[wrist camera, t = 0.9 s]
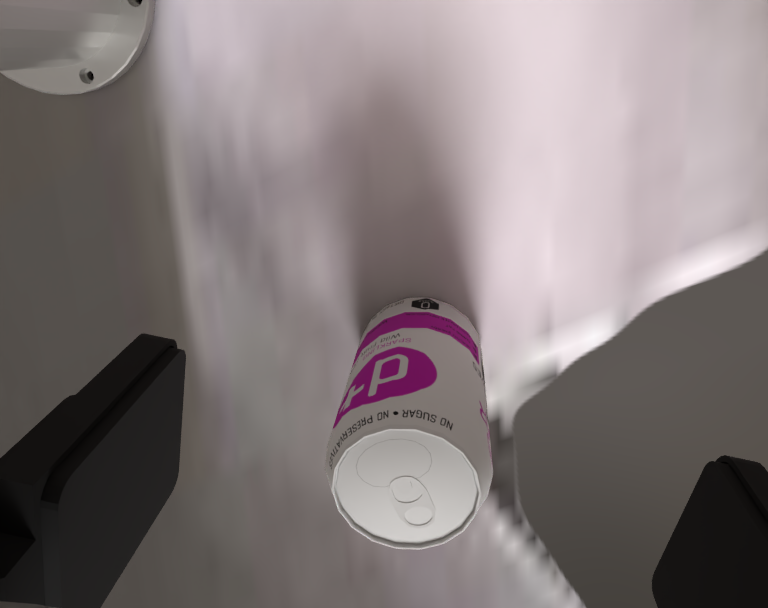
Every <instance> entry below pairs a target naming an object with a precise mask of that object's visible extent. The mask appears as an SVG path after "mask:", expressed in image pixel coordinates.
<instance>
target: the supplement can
mask: <svg viewBox="0 0 768 608" xmlns="http://www.w3.org/2000/svg"><path fill="white" fill-rule="evenodd" d="M325 471H326V475H327V478H328V481H329V484H330V487H331V491H332V493H333V495H334V498H335V502H336V505H337V508H338V511H339V512H340V513H341V514H342V516H343V517H344V518H345V519H346V521H347V522H348V523H349V525H350V526H351V527H352V528H353V529H355V530H356V531H358V532H359V533H361V534H362V535H364V536H365V537H367V538H368V539H370V540H371V541H373V542H376V543H380V544H383V545H386V546H389V547H392V548H395V549H419V550H421V549H425V548H429V547H433V546H437V545H441V544H444V543H446V542H448V541H449V540H451V539H452V538H454V537H456V536H457V535H459V534H461V533H462V532H464V530H465V529H466V528H467V526H468V525H469V524H470V522H471V521H472V520H473V518H474V517H475V516H476V514H477V510H478V509H479V507H480V506H481V505H482V504H483V502H484V501H485V500H486V498H487V497H488V493H489V488H490V484H491V480H492V476H493V467H492V456H491V445H490V435H489V424H488V413H487V402H486V391H485V381H484V370H483V359H482V351H481V346H480V340H479V335H478V333H477V331H476V330H475V328H474V327H473V325H472V324H471V322H470V320H469V319H468V317H466V316H465V315H464V314H462V313H461V312H460V311H458V310H457V309H456V308H455V307H453V306H452V305H451V304H448V303H445V302H441V301H438V300H435V299H432V298H406V299H403V300H400V301H397V302H394V303H392V304H389V305H387V306H386V307H384V308H383V309H382V310H381V311H380V312H378V313H377V314H376V315H375V316H373V317H372V319H371V320H370V322H369V324H368V326H367V327H366V329H365V331H364V333H363V335H362V338H361V341H360V344H359V347H358V350H357V353H356V357H355V360H354V363H353V366H352V369H351V373H350V376H349V379H348V382H347V385H346V388H345V392H344V395H343V398H342V401H341V404H340V407H339V411H338V414H337V417H336V420H335V423H334V426H333V430H332V433H331V436H330V439H329V442H328V446H327V454H326V464H325Z"/></svg>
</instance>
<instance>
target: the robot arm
mask: <svg viewBox="0 0 768 608" xmlns="http://www.w3.org/2000/svg"><path fill="white" fill-rule="evenodd" d="M154 9H155V0H142V3H141V4H140V2H139V0H0V73H1V74H3V75H4V76H5V77H7V78H9V79H11V80H13V81H15V82H17V83H18V84H20V85H22V86H24V87H27V88H30V89H33V90H36V91H40V92H43V93H50V94H58V95H69V94H80V93H85V92H90V91H95V90H98V89H100V88H102V87H104V86H107V85H109V84H111V83H113V82H114V81H116V80H117V79H118V78H119V77H121V76H122V75H123V74H125V73H126V72H127V71H128V70H129V69H130V67H131V66H132V65H133V64H134V62H135V61H136V60H137V59H138V57H139V56H140V54H141V52H142V50H143V48H144V46H145V44H146V42H147V40H148V37H149V34H150V30H151V26H152V23H153V19H154ZM91 73H93V76H94V79H93V78H92V77H91ZM185 363H186V354H185V351H184V350H181V349H177V344H176V341H175V340H173V339H168V338H163V337H158V336H154V335H149V334H141V335H139V336H138V337H137V338H136V339H135V340H134V341H133V342H132V343H131V344H129V345H128V346H127V347H126V348H125V349H124V350H123V351H122V352H121V353H120V354H119V355H118V356H117V357H116V358H115V359H113V360H112V361H111V362H110V363H109V364H108V365H107V366H106V367H105V368H104V369H103V370H102V371H101V372H100V373H99V374H97V375H96V376H95V377H94V378H93V379H92V380H91V381H90V382H89V383H88V384H87V385H86V386H85V387H84V388H83V389H81V390H80V391H79V392H78V393H77V394H76V395H71V396H69V397H68V398H66V399H65V400H63V401H62V402H61V403H60V404H59V405H58V406H57V407H56V408H55V409H53V410H52V411H51V412H50V413H49V414H48V415H47V416H46V417H45V418H44V419H43V420H42V421H40V422H39V423H38V424H37V425H36V426H35V427H34V428H33V429H32V430H31V431H30V432H29V433H27V434H26V435H25V436H24V437H23V438H22V439H21V440H20V441H19V442H18V443H17V444H15V445H14V446H13V447H12V448H11V449H10V450H9V451H8V452H7V453H6V454H5V455H4V456H2V457H1V458H0V608H100V607H101V606H102V604H103V603H104V601H105V599H106V598H107V596H108V595H109V593H110V591H111V590H112V588H113V586H114V585H115V583H116V582H117V580H118V578H119V577H120V575H121V574H122V572H123V570H124V569H125V567H126V566H127V564H128V562H129V561H130V559H131V557H132V556H133V554H134V553H135V551H136V549H137V548H138V546H139V545H140V543H141V541H142V540H143V538H144V537H145V535H146V533H147V532H148V530H149V528H150V527H151V525H152V524H153V522H154V520H155V519H156V517H157V516H158V514H159V512H160V511H161V509H162V507H163V506H164V504H165V503H166V501H167V499H168V498H169V496H170V495H171V493H172V491H173V489H174V487H175V484H176V481H177V478H178V473H179V460H180V443H181V427H182V411H183V395H184V379H185ZM652 591H653V595H654V598H655V601H656V604H657V606H658V608H768V472H767V471H766V469H765V468H764V467H763V466H762V465H761V464H760V463H758V462H754V461H750V460H745V459H740V458H735V457H730V456H726V455H724V456H721V457H719V458H718V459H717V460H716V462H714V461H711V462H709V463H707V465H706V466H705V467H704V469H703V471H702V474H701V475H700V478H699V480H698V482H697V484H696V486H695V488H694V490H693V493H692V494H691V496H690V498H689V501H688V503H687V505H686V507H685V509H684V511H683V513H682V515H681V517H680V519H679V522H678V524H677V526H676V528H675V530H674V532H673V534H672V536H671V538H670V540H669V542H668V544H667V547H666V549H665V551H664V553H663V555H662V557H661V559H660V561H659V563H658V565H657V568H656V570H655V572H654V575H653V579H652Z"/></svg>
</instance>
